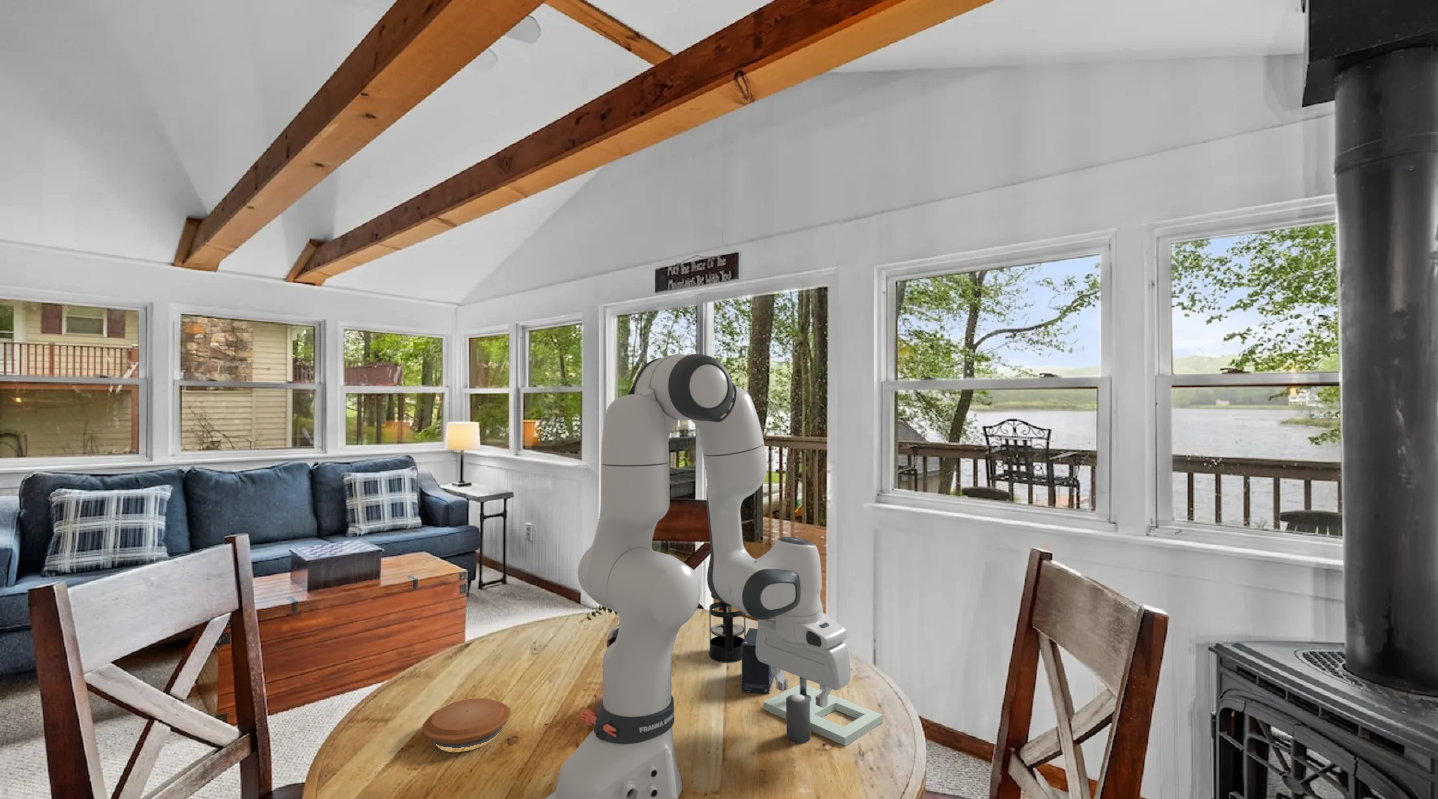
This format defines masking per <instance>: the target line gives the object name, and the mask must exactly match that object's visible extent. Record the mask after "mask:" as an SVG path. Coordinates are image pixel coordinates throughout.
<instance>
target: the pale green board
mask: <svg viewBox="0 0 1438 799" xmlns="http://www.w3.org/2000/svg"><path fill="white" fill-rule="evenodd" d="M821 692H822V690H820V689H818V688H816V687H813V686H810V685H808V684H807V695H809V696H811V701H810V732H813V733H815V734H818V735H820V736H822V737H824V738H827V739H829V740H831V741H833V742H835V743H837V744H839V745H842V746H844V747H846V746H848V745H849V744H851V743H852V742H855V741H856V740H858V739H859V738H861V737H862V736H864V735H866V733H868V732H869V731H871V730H873V729H874V728H877V727H878V726H880V725H881V724H883V721H884V719H883V717H884V716H883V714H882V713H880V712H876V711H874V710H871V709H869V708H867V707H864V706H862V705H859V704H856V703H853V702H851V701H849V700H846V699H844V698H841V697H839V696H836V695H833V694H831V693H830V694H829V695H828V705H827V706H826V707H824V708H822V707H820V706H817V705H816V698H815V696H817V695H819V694H821ZM795 694H800V683H799V684H797V685H796V686H794V687H792V688H789V689H787V690H784V691H782V692H780V693H779V694H776V695H775V696H773V697H770V698H768V699H766V700H765V701H763V710H765V711H767V712H769V713H771V714H773V715H776V716H778V717H780V718H782V719H784V720H786V698H787V697H788V696H790V695H795ZM835 711H838V712H840V713H842V714H845V715H847V716H849V717H852V718H854V720H853V721H852V722H850V723H848V724H847V725H844V726H842V725H840V724H838V723H837V722H833V721H831V720H829V719H826V718H824V717H825V716H828V715H829V714H831V713H832V712H835Z"/></svg>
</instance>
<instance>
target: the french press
mask: <svg viewBox="0 0 1438 799" xmlns="http://www.w3.org/2000/svg"><path fill="white" fill-rule="evenodd" d="M710 596H711V598H712V599H714V600H717V599H716V598H715V597H714V596H713V595H712V593H711V592H710ZM730 607H733V606H731V605H728V604H726V603H723V602H721V601H717V602H714V603H711V604H710V605H709V607H708V608H709V615H708V616H709V625H708V626H709V652H708V657H709V658H710V659H711V660H713V661H715V662H720V663H736V662H740V661H742V643H743V640H744V638H745V636H746V634H747V631H746V630H747V629H746V614H745V613H743V612H741V611H739V610H737V611H730V609H731V608H730ZM718 608H722V611H717V610H715V609H718ZM733 608H734V607H733ZM712 616H713V617H716V618H721V619H722V623H720V624H715V625H713V626H712V623H711V622H712V621H711V620H712V618H711V617H712ZM741 616H743V626H742V625H741V624H737V623H734V618H739V617H741ZM712 635H714V637H712ZM741 635H744V636H743V637H741Z"/></svg>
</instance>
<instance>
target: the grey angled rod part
mask: <svg viewBox="0 0 1438 799" xmlns="http://www.w3.org/2000/svg"><path fill="white" fill-rule="evenodd" d="M807 681H808V680H807V679H804V678H802V677H799V684H800V695H804V696H806V697H808V698H809V699H810V701H811V696H809V695H807V685H808V683H807Z"/></svg>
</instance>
